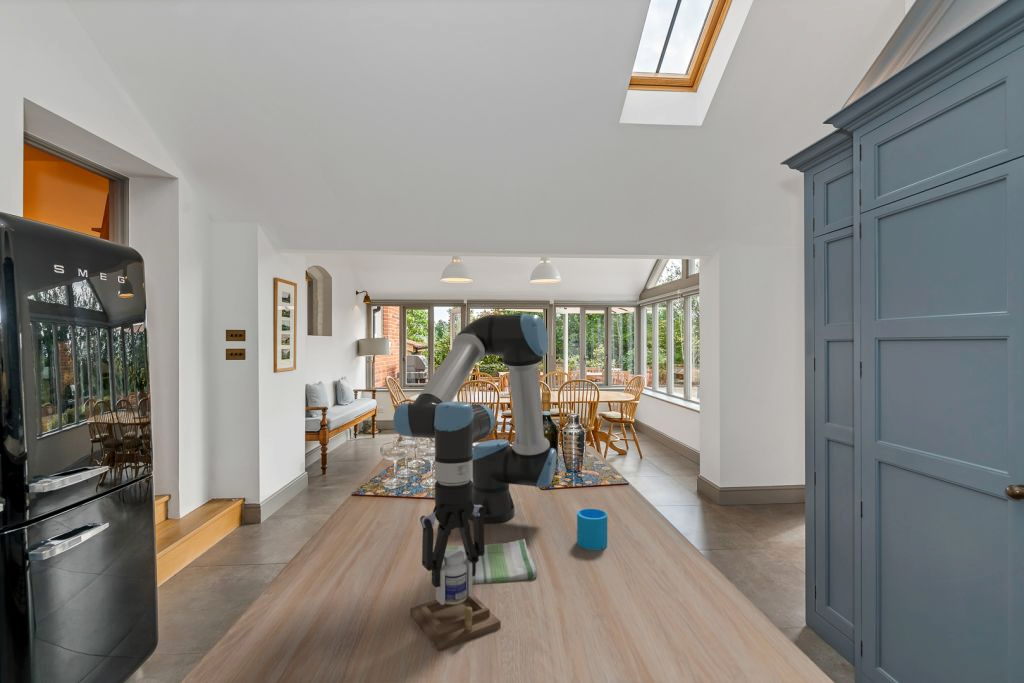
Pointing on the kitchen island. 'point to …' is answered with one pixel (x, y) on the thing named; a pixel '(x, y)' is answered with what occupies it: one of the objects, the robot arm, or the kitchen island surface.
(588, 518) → the mug
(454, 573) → the pill bottle
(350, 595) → the kitchen island surface
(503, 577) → the dish towel
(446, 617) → the cradle
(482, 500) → the robot arm
